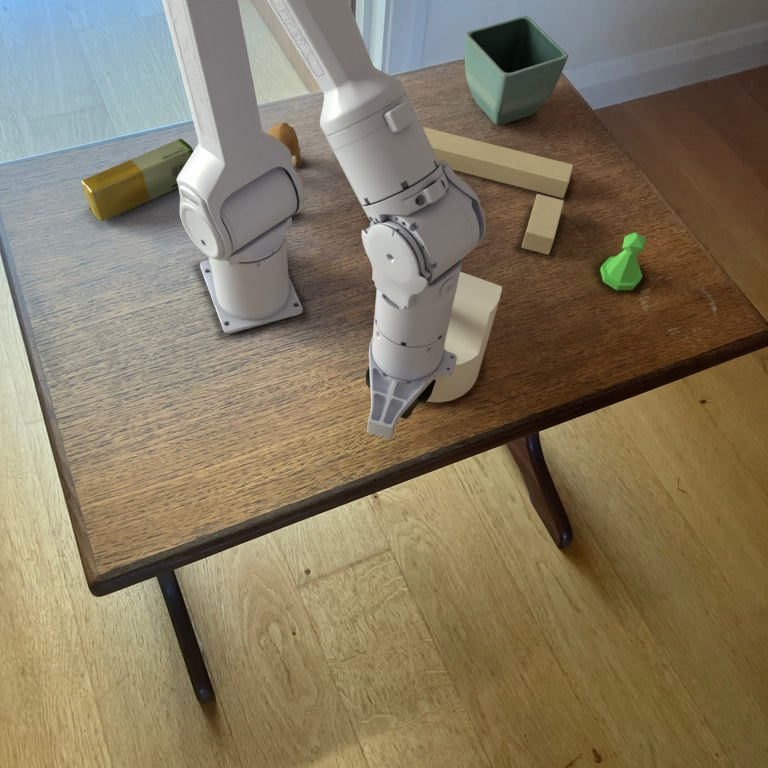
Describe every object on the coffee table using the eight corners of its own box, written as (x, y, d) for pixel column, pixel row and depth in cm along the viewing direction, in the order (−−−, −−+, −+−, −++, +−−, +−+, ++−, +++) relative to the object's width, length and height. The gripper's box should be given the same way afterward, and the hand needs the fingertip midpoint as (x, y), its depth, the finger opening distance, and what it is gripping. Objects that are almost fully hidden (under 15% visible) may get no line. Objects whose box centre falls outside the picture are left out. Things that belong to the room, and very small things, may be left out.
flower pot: (453, 97, 101) (463, 31, 93) (512, 79, 103) (527, 13, 96) (490, 141, 97) (504, 76, 89) (552, 121, 99) (570, 56, 92)
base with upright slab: (491, 344, 80) (515, 263, 70) (460, 416, 76) (481, 339, 66) (406, 313, 82) (418, 229, 72) (371, 381, 77) (378, 301, 67)
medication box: (188, 167, 91) (181, 136, 88) (200, 179, 90) (194, 148, 87) (88, 210, 87) (78, 179, 83) (100, 223, 85) (90, 192, 82)
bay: (548, 255, 87) (554, 239, 85) (387, 212, 89) (389, 195, 87) (568, 181, 94) (573, 164, 92) (417, 142, 96) (419, 125, 94)
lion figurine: (305, 244, 86) (303, 179, 79) (254, 245, 86) (247, 180, 78) (302, 148, 94) (300, 82, 87) (255, 149, 94) (249, 81, 86)
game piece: (636, 296, 85) (656, 257, 80) (596, 284, 86) (613, 245, 81) (643, 266, 87) (662, 227, 82) (603, 255, 88) (620, 215, 83)
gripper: (437, 409, 58) (419, 492, 69) (484, 262, 66) (461, 359, 77) (343, 381, 59) (340, 468, 70) (400, 239, 66) (389, 339, 78)
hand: (398, 409), depth 74 cm, fingers closed
